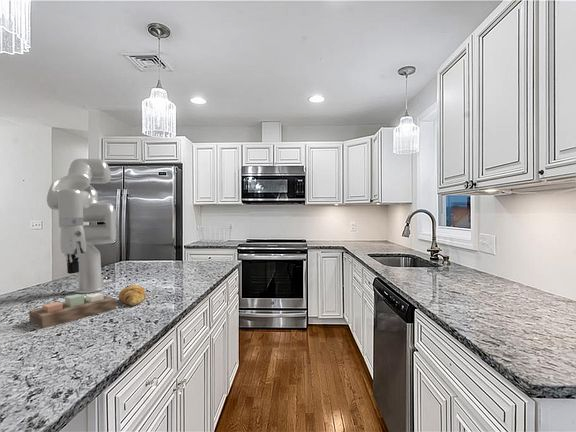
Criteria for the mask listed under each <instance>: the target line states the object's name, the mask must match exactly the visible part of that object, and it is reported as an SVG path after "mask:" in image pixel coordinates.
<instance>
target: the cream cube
mask: <svg viewBox="0 0 576 432" xmlns="http://www.w3.org/2000/svg"><path fill="white" fill-rule="evenodd" d="M104 296H105V295H104V293H100V292H95V293H93V294H91V293H90V294H88V295H85V298H86V301H88V302H95V301H99V300H103V299H104Z"/></svg>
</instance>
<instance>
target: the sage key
mask: <svg viewBox="0 0 576 432" xmlns="http://www.w3.org/2000/svg"><path fill="white" fill-rule="evenodd" d="M84 298H85V295H83V294H81V293H75V294H71V295H67V296H64V303H65V306H67V307H74V306H78V305H82V304H84Z"/></svg>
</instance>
